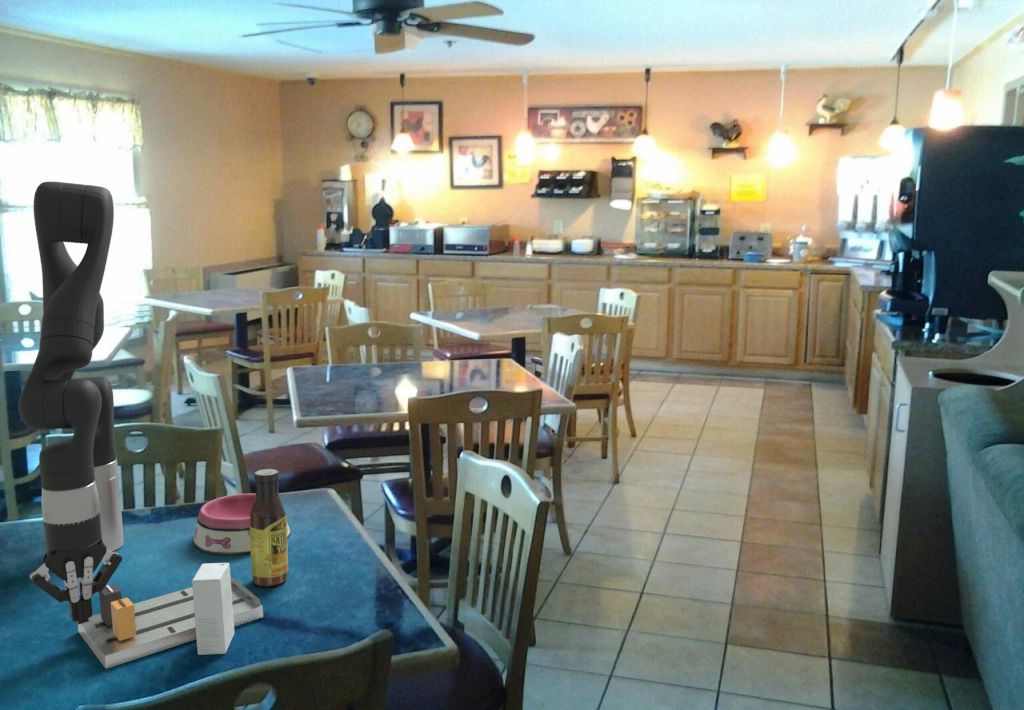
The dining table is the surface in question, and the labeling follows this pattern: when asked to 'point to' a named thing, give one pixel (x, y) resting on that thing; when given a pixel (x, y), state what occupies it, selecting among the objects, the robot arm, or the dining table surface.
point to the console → (161, 625)
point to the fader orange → (123, 619)
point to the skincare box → (213, 608)
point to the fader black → (108, 602)
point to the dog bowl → (226, 526)
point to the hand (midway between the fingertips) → (81, 621)
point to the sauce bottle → (268, 531)
